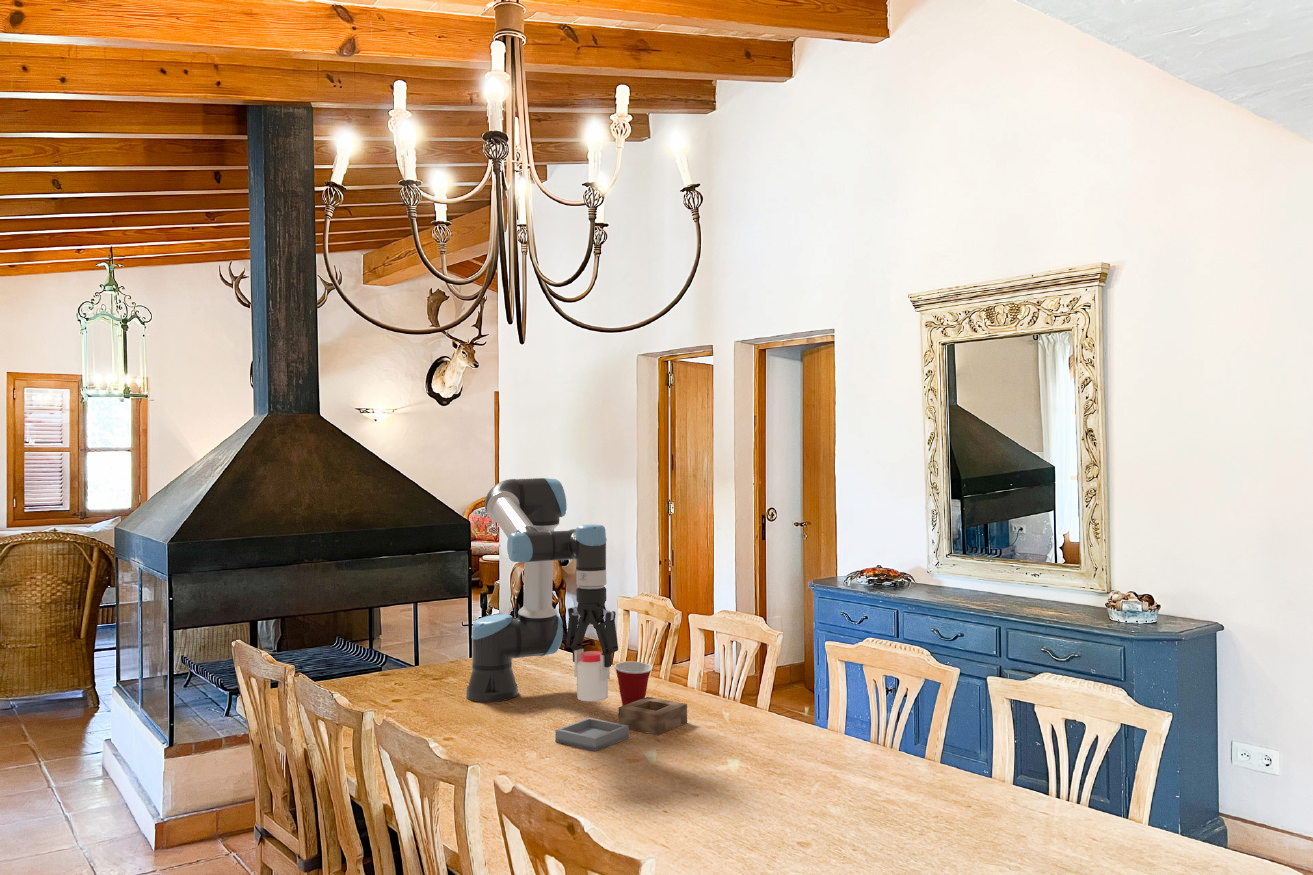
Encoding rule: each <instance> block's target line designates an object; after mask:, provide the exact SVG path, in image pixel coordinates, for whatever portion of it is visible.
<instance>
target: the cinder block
mask: <svg viewBox="0 0 1313 875" xmlns="http://www.w3.org/2000/svg"><path fill="white" fill-rule="evenodd" d="M617 709H618V712H617V713H618V715H617V716H618V721H617V723H618V724H623V725H627V726H629V730H633V731H638V732H642V733H647V734H651V735H657V736H660V735H663V734H665V733H667V732H669V731H671V730H673V729H677V728H678V727H682V726H683V725H685V724H687V723H688V704H687V703H684V702H680V701H679V702H678V701H674V700H673V701H672V700H667V699H662V698H657V697H652V696H645V698H643V699H640V700H637V701H635V702H632V703H629V704H626V705H624V706H622V705H621V706H619V707H617Z"/></svg>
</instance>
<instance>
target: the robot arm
mask: <svg viewBox="0 0 1313 875" xmlns="http://www.w3.org/2000/svg"><path fill="white" fill-rule="evenodd" d="M567 505H568V504H567V497H566V492H565V489H564V487H563V485H562V482H561V481H560V480H558V479H556V478H547V477H542V478H541V477H539V478H538V477H537V478H518V479H517V478H510V479H505V480H502V481H500V482H498V483H497V484H495V485H494V486H492V487H491V489H490V490H489V491H488V492H487V495H486V496H485V500H484V509H485V512H486V514H487V516H488V517H489V518H490V520H491V521H493V522H495V523H497V524H498V526H499V527H500V529H501V530H502V532H503V533H504V535H505V536H506V538H507V543H506V550H507V552H506V553H507V554H508V559H509V561H511V562H512V563H523V564H524V569H523V570H524V572H523V573H524V574H523V576H524V577H523V606H522V607H520V608H519V610H518V611H517V614H518V615H517V617H516V618H513V617H512V615H511V614H509V613H501V614H499V613H497V614H492V615H488V616H487V615H486V616H483V617H480V618H478V619H477V620H475V621H474V623H473V624H472V629H471V659H472V660H471V661H472V662H471V667H472V668H471V672H470V673H471V674H470V677H469V681H468V685H467V687H466V691H465V693H466V694H465V695H466V696H465V697H466V699H467V700H470V701H475V702H482V703H483V702H484V703H485V702H486V703H488V702H490V703H491V702H502V701H506V700H510V699H513V698H516V697H517V696H518V695H519V688H518V684H517V682H516V677H515V674H514V672H513V665H512V664H513V663H512V662H513V659H521V658H529V657H544V656H549V655H553V654H556V653H557V652H558V650H560V648H561V645H562V641H563V634H564V628H563V620H562V617H561V616H560V615H558V614H557V610H556V609H555V608H554V606H553V586H554V585H553V582H554V581H553V580H554V578H553V577H554V574H553V573H554V561H567V560H568V561H570V560H571V561H572V560H575V562H576V563H575V565H576V566H575V567H576V568H575V570H576V572H575V574H576V575H575V576H576V578H575V579H576V586H578V587H577V588H576V589H575V590H576V591H575V592H576V596H575V598H576V602H577V606H573V607H568V609H567V612H568V622H567V632H566V640H565V645H566V647H570V649H571V650H572V662H573V663H574V677H576V678H577V663H578V662H579V661H580V660H581V653H583V652H585V650H584V646H582V645H583V642H584V639H585V636H586V633H587V629H588V626H589V625H592V627H593V629H594V630H595V632H596V636H597V638H598V641H599V645H600V647H601V652H602V653H601V654H600V681H605V680H610V679H611V677H610V673H611V672H610V670H611V668H612V664H613V663H612V655H613V653H616V652H618V651H619V643H618V636H617V630H616V629H617V628H616V615H617V614H616V611H614V610H612V611H610V610H607V608H606V601H607V588H606V585H607V533H606V528H605V526H604V525H603V524H580V525H577V527H576V528H575V529H569V530H556V531H555V529H556V528H557V527H558V526H559V525H560V518H563V517H565V516H566V514H567V512H566V511H567Z"/></svg>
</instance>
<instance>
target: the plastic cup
mask: <svg viewBox="0 0 1313 875" xmlns="http://www.w3.org/2000/svg"><path fill="white" fill-rule="evenodd" d="M613 667H614V669H615V672H616V677H617V683H618V688H619V696H620V699H621V706H624V705H626V704H629V703H632V702H635V701H637V700H640V699H643V698H646V697H647V696H646V694H647V688H648V683H649V678H650V674H651V672H652V671H653V666H652V665H651V664H649V663H645V662H641V661H633V660H632V661H621V662H618V663H615V664H614V666H613Z"/></svg>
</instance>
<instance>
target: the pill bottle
mask: <svg viewBox="0 0 1313 875" xmlns="http://www.w3.org/2000/svg"><path fill="white" fill-rule="evenodd" d="M601 653H603V651H598V650H597V651H596V650H591V651H590V650H589V651H584V652H583V653H581V660H580V661H579V662H578V663H577V677H576V694H577V696H576V698H577V699H578V700H579V701H582V702H599V701H604V700H606V699H608V697H609V681H608V680H605V681H600V654H601Z"/></svg>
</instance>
